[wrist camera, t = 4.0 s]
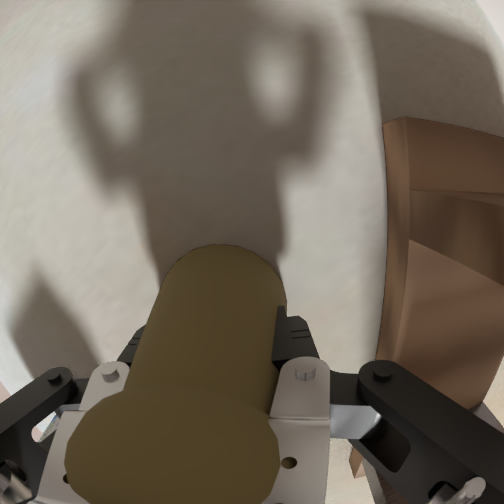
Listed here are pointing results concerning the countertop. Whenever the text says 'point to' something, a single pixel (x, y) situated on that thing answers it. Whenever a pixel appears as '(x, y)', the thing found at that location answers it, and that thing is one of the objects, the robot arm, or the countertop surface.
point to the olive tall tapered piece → (191, 394)
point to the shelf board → (438, 266)
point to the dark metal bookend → (384, 493)
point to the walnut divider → (461, 227)
